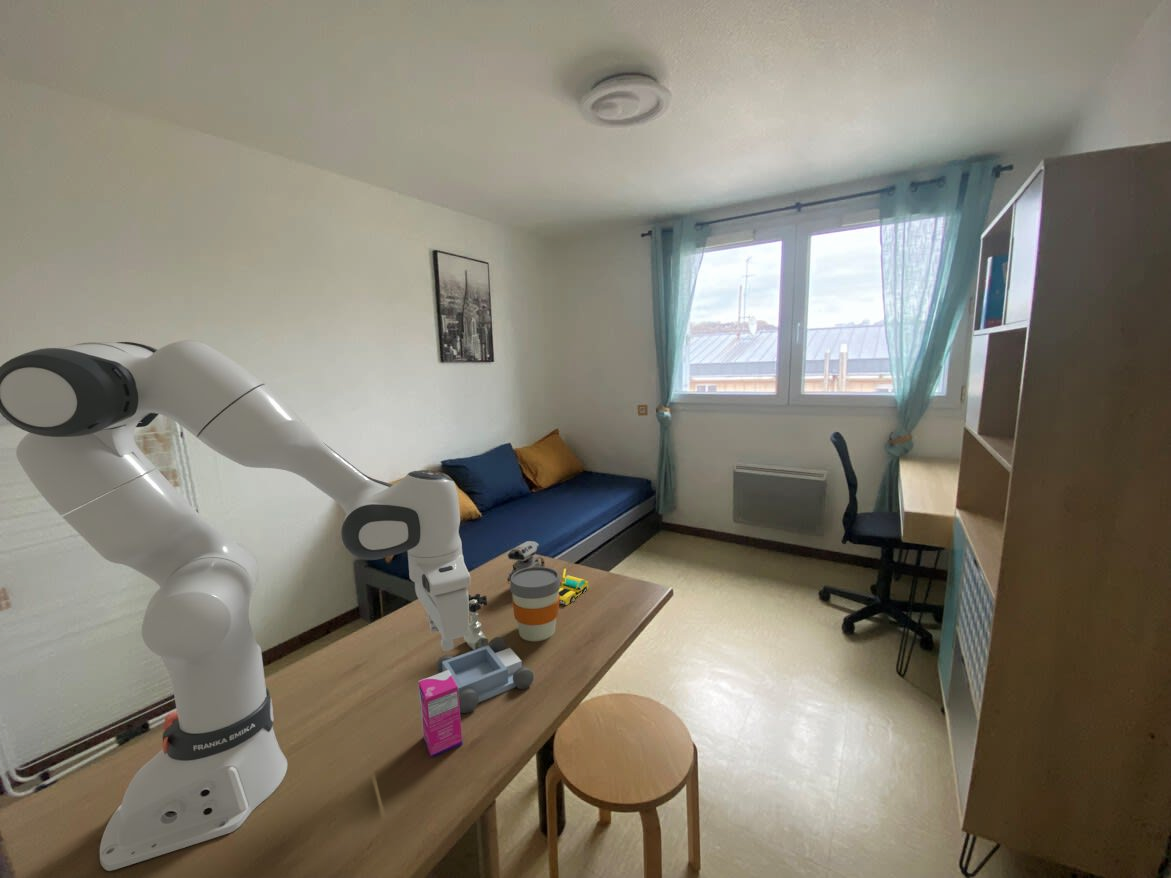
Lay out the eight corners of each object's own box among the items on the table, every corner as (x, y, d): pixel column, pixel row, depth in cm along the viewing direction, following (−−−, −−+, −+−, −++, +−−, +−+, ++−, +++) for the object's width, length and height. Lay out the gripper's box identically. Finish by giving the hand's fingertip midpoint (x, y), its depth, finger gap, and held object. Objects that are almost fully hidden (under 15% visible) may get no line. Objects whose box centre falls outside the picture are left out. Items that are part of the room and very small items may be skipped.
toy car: (570, 587, 143) (569, 561, 142) (591, 593, 139) (591, 566, 138) (546, 603, 133) (545, 576, 132) (568, 610, 129) (568, 582, 128)
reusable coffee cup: (529, 615, 127) (527, 563, 124) (570, 625, 121) (569, 570, 119) (502, 639, 115) (499, 582, 113) (545, 651, 110) (543, 591, 108)
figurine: (500, 595, 139) (498, 546, 137) (528, 581, 148) (527, 535, 145) (521, 604, 133) (519, 553, 131) (549, 589, 142) (548, 542, 140)
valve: (468, 658, 108) (465, 609, 106) (457, 645, 113) (454, 599, 112) (494, 648, 112) (492, 601, 110) (482, 636, 117) (480, 591, 115)
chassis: (459, 716, 90) (458, 696, 89) (436, 675, 102) (435, 657, 102) (533, 685, 98) (533, 666, 98) (504, 650, 111) (503, 633, 110)
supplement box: (421, 737, 85) (417, 679, 83) (454, 724, 88) (450, 668, 86) (429, 759, 80) (425, 698, 78) (463, 744, 83) (460, 685, 81)
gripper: (403, 549, 87) (408, 619, 89) (433, 590, 70) (439, 675, 72) (437, 542, 90) (442, 609, 92) (474, 580, 73) (479, 661, 75)
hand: (441, 638), depth 82 cm, fingers open, 6 cm apart
